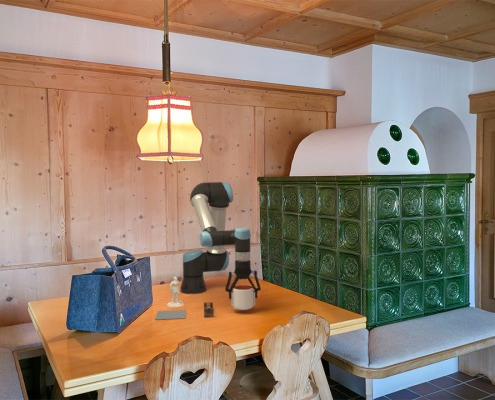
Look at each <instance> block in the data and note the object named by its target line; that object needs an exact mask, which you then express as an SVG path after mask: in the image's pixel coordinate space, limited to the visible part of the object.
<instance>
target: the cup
mask: <svg viewBox="0 0 495 400" xmlns="http://www.w3.org/2000/svg"><path fill="white" fill-rule="evenodd" d="M253 291H254V289H253V287H252V285H250V284H248V285H247V284H246V285H245V284H240V285H235V287H234V288H233V290H232V292H233V306H232V307H233V308H234V309H235V310H238V311H239V310H240V311H247V310H250V309H253V307H254V305H253Z"/></svg>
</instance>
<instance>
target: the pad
mask: <svg viewBox="0 0 495 400" xmlns="http://www.w3.org/2000/svg"><path fill="white" fill-rule="evenodd" d="M186 316H187V309H177V310H175V309H174V310H173V309H172V310H157V312H156V315H155V318H154V321H168V320H185V319H186Z"/></svg>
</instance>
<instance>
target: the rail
mask: <svg viewBox="0 0 495 400" xmlns="http://www.w3.org/2000/svg"><path fill="white" fill-rule="evenodd" d="M214 310H215V309H214V302H211V301H210V302H209V301H208V302H207V301H206V302H203V316H204V318H214V315H215V314H214Z"/></svg>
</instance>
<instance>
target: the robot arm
mask: <svg viewBox="0 0 495 400" xmlns="http://www.w3.org/2000/svg"><path fill="white" fill-rule="evenodd" d="M190 192H191V193H190V195H189V201H190V204H191V206H192V207H193V208H194V211H195V214H196V217H197V221H198V223H199V227H200V231H201V232H200V234H199V243H200V245H201V247H203V248H205V247H206V250H205V251H204V250H202V249H194V250H189V251H186V252H184V253H183V254H182V281H181V285H180V287H179V288H180V289H179V292H180V293H183V294H201V293H205V292H207V284H206V282H205V279H204V273H210V272H221V271H226V270H227V269H228V266H229V264H230V253H229V252H228V251H227V248H226V247H225V246H234V259H235V261H234V270H229V271H228V278H227V281H226V285H225V288H224V290H225V292H227V293H228V299H229V300H230V301H231V302H230V304H231V307H233V288H234V287H235V286H237V283H238V281H239V280H247V281H248V282H249V285H250V286H252V287H253V306H256V299H257V298H258V291H261V290H262V288H261V284H260V282H259V278H258V271H257V270H256V269H254V270H252V269H251V266H252V265H251V229H250V228H249V227H248V228H247V227H237V228H235V229H230V230H228V229H227V230H226V217H227V208H229V207H230V204H231V203H233V201H234V193H233V188H232V186H231V184H230V183H229V182H226V181H224V182H223V181H215V182H213V181H212V182H204V181H203V182H200V183H198V184H197V185H195V186H194V187H193V189H192V190H191V191H190ZM251 274H252V275H253V276H254V280H255V284H256V286H257V287H256V286H255V284H254V282H253V281H252V280H253V279H251V278H250V275H251ZM234 275H235V278H234V279H233V282H232V283H231V281H232V277H233V276H234ZM230 284H231V285H230Z"/></svg>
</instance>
